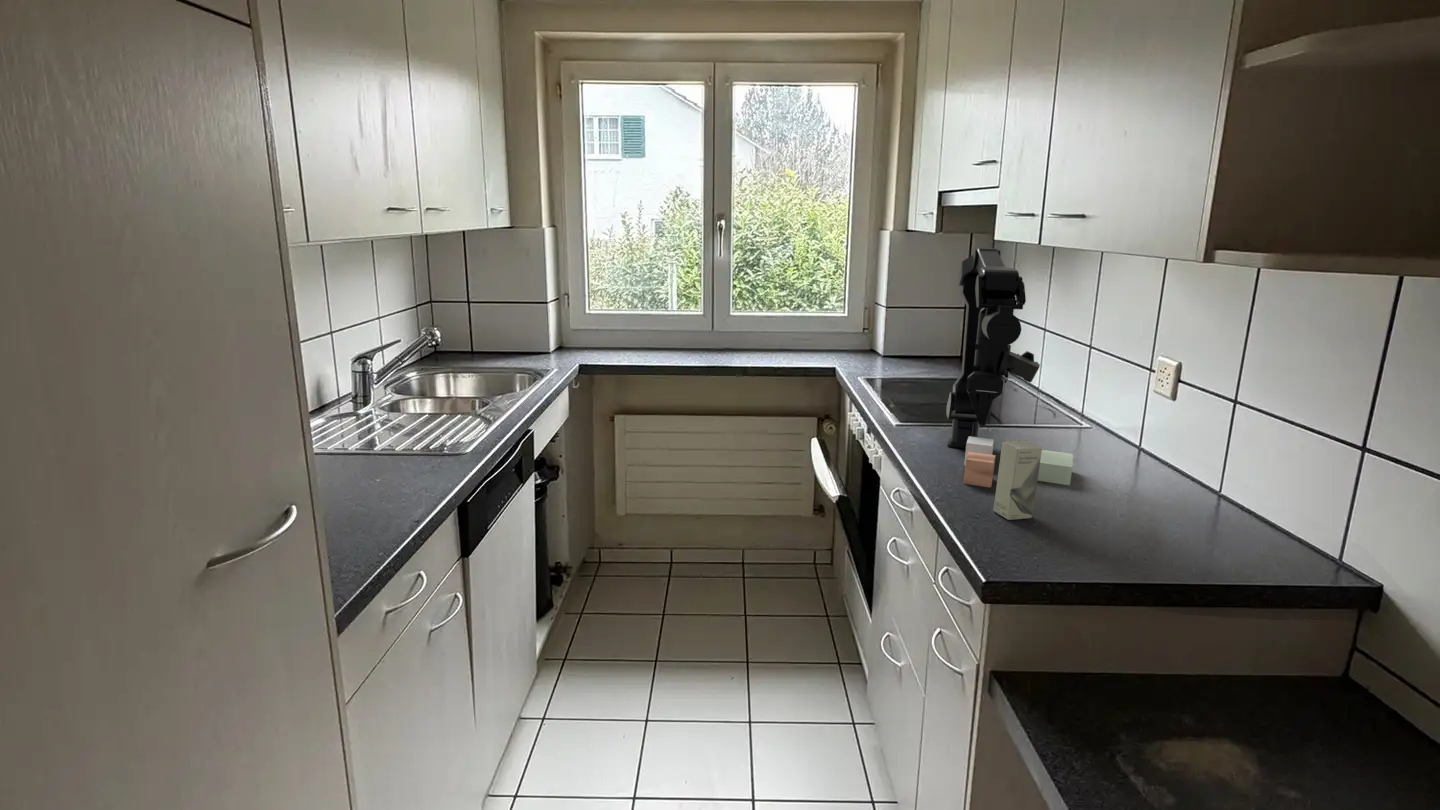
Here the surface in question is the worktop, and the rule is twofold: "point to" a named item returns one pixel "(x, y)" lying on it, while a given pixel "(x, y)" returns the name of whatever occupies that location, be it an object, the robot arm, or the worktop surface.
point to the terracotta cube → (979, 469)
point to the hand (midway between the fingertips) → (984, 419)
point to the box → (1017, 479)
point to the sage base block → (1055, 467)
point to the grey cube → (979, 446)
